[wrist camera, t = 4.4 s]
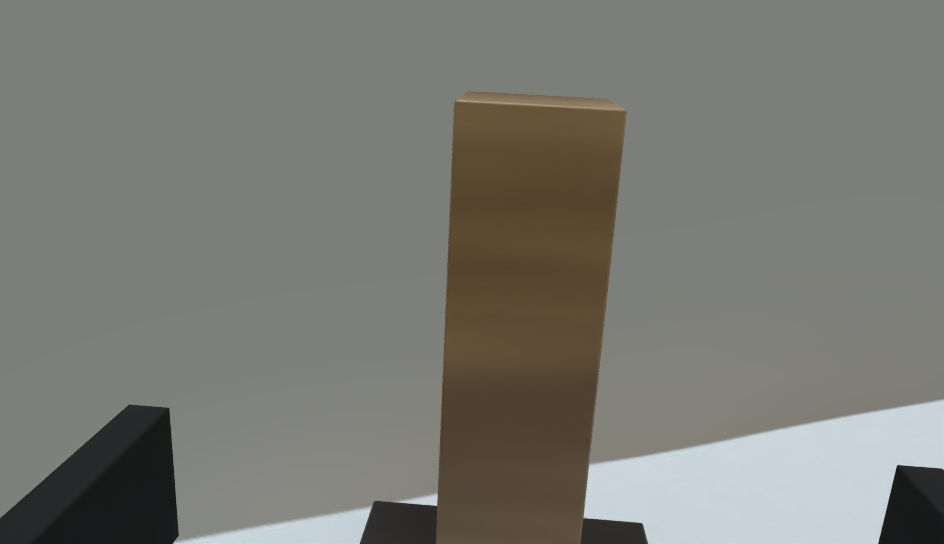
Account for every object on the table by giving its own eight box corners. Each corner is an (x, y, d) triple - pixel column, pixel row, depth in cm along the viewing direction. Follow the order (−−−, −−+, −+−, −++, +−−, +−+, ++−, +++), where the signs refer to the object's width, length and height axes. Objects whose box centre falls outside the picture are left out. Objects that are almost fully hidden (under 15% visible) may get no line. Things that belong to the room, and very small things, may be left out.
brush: (649, 696, 20) (735, 115, 15) (348, 667, 20) (349, 93, 16) (630, 599, 23) (696, 103, 19) (374, 577, 23) (381, 86, 19)
